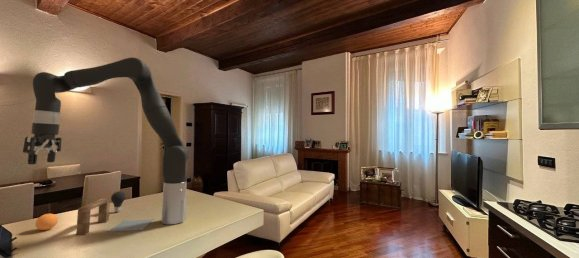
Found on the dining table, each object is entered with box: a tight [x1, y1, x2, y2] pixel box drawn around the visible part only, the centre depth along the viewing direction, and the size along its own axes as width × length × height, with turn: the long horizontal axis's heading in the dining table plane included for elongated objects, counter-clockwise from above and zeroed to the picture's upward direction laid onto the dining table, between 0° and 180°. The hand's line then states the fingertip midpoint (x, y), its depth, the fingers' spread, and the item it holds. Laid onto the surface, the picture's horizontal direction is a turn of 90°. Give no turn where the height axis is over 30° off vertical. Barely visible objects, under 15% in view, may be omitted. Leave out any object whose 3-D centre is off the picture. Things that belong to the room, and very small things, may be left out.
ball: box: [35, 213, 59, 231], centre depth 88 cm, size 6×6×6 cm
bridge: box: [75, 197, 111, 236], centre depth 92 cm, size 3×15×10 cm, turn 12°
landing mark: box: [107, 218, 155, 233], centre depth 94 cm, size 12×12×1 cm
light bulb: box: [110, 191, 126, 213], centre depth 111 cm, size 6×6×10 cm
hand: (41, 163), depth 91 cm, fingers open, 8 cm apart
